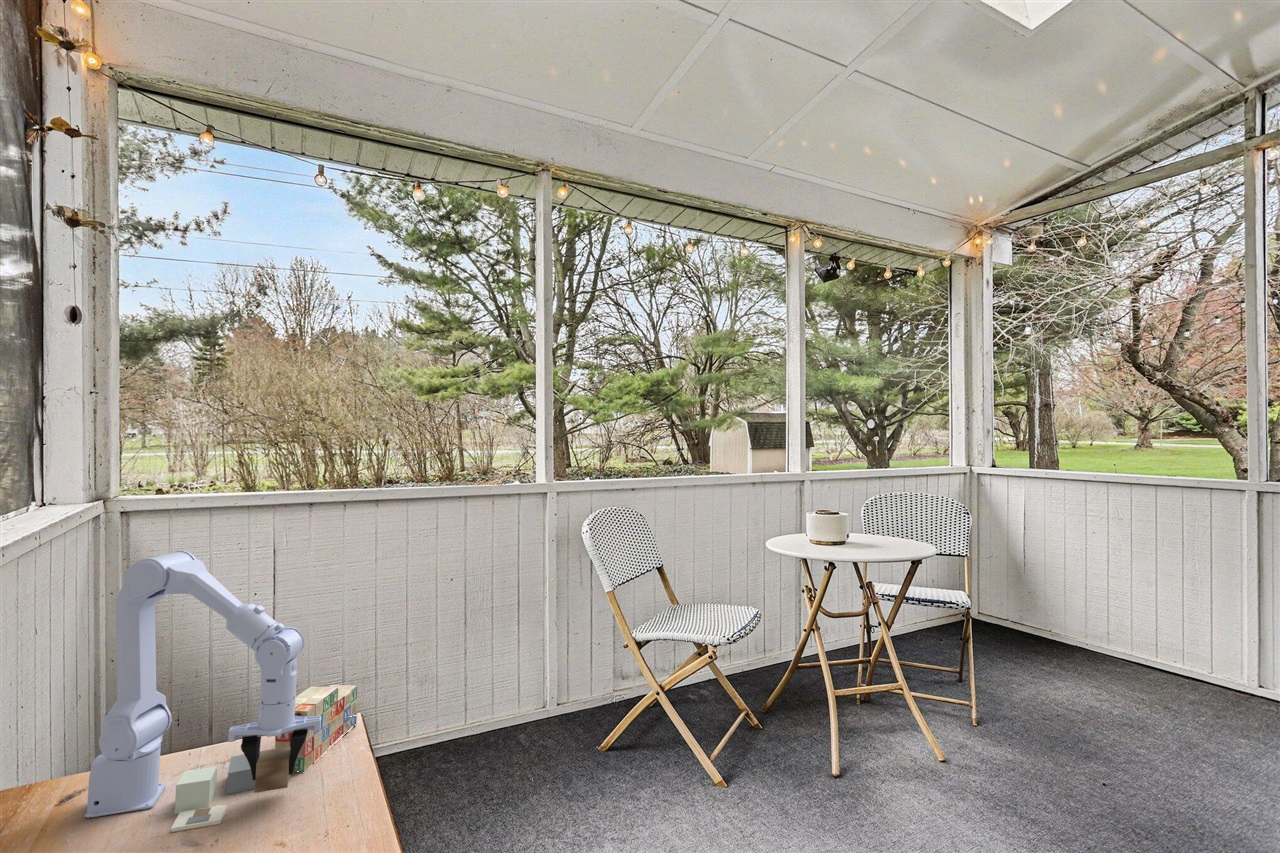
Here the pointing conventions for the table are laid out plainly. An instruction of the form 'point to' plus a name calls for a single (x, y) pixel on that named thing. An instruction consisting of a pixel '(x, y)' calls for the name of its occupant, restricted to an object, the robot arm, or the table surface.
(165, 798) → the table surface
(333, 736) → the stack of blocks
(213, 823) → the card
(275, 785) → the walnut block
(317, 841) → the table surface
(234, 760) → the slate block
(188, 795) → the sage block
